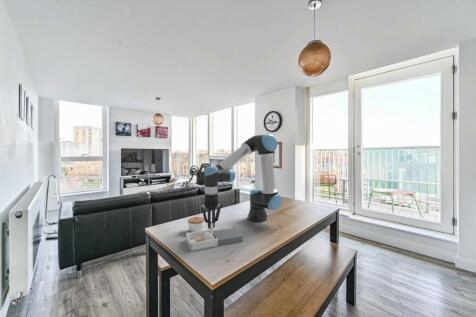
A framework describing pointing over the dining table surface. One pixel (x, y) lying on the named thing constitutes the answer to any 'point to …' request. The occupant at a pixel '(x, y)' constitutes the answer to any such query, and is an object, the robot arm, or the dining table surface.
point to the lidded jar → (196, 224)
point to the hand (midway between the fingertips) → (211, 233)
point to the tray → (202, 244)
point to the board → (227, 236)
